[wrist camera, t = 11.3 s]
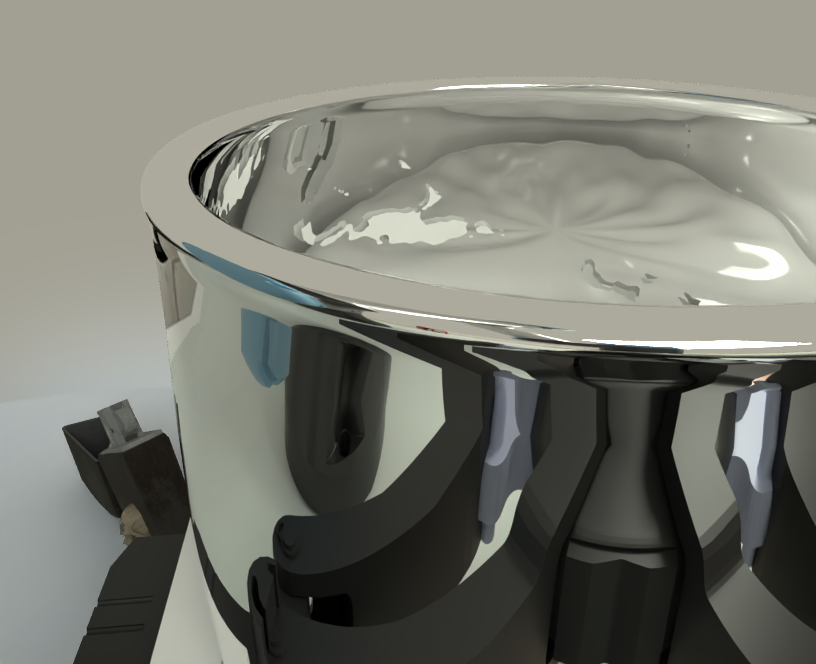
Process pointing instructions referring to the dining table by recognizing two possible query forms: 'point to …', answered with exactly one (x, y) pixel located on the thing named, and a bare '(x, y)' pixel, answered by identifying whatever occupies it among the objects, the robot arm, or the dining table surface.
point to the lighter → (131, 472)
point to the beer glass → (498, 371)
